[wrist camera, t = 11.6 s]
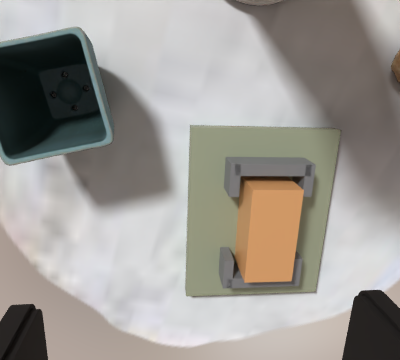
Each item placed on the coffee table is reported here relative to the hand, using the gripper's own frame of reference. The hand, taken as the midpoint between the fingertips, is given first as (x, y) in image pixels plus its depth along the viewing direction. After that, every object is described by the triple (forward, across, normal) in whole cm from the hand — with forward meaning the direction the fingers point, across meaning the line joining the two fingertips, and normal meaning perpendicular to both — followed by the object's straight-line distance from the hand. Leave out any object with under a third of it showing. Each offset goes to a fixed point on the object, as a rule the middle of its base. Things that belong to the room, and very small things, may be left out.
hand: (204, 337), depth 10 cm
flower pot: (+28, +10, -5) cm, 31 cm away
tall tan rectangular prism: (+27, -10, +8) cm, 30 cm away
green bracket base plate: (+28, -10, +8) cm, 31 cm away
